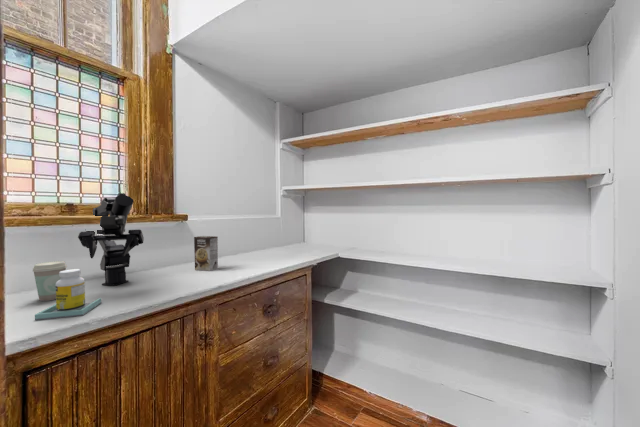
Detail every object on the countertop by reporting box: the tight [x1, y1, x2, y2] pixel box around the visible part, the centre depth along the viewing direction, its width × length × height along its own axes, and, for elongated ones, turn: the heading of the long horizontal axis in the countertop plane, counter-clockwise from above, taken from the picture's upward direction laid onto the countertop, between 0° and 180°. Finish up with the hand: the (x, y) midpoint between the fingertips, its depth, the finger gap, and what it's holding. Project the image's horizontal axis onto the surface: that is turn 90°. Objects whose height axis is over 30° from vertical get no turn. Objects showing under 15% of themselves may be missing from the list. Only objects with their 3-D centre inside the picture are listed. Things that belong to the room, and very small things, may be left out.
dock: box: [34, 297, 102, 321], centre depth 84 cm, size 11×11×2 cm
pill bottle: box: [55, 268, 86, 312], centre depth 84 cm, size 6×6×12 cm
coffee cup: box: [32, 260, 68, 302], centre depth 96 cm, size 9×8×12 cm
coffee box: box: [193, 235, 219, 272], centre depth 138 cm, size 9×6×16 cm
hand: (107, 256), depth 98 cm, fingers open, 9 cm apart
